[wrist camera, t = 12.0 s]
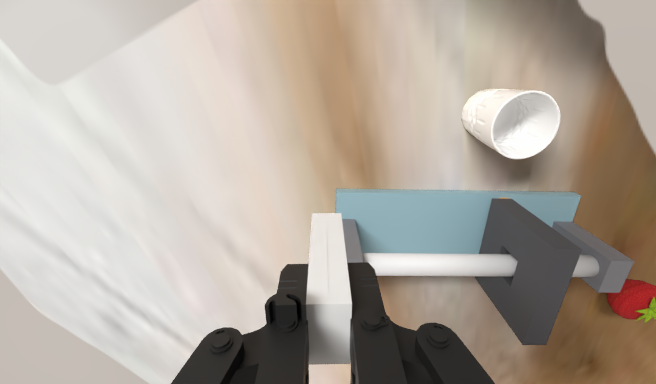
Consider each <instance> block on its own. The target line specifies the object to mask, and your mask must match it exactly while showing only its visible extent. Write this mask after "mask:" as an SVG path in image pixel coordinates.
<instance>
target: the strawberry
mask: <svg viewBox="0 0 656 384" xmlns="http://www.w3.org/2000/svg"><path fill="white" fill-rule="evenodd" d="M607 299H608V303H609V305H610V306H611V308H612V309H613V311H614V312H615V313H616V314H618V315H620V316H621V317H623V318H626V319H636V320H640V319H643V318H645V322H644V323H646V322H647V321H648V320H649V319H651V318H652V317H653V318H654V319H655V320H656V286H654V285H652V284H649V283H646V282H644V281H640V280H630V279H626V280H625V282H624V284H623V287H622V289H621V291H620V293H607Z"/></svg>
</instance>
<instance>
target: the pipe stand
mask: <svg viewBox="0 0 656 384" xmlns="http://www.w3.org/2000/svg"><path fill="white" fill-rule="evenodd" d="M492 198H502V199H513V200H514V201H516V202H517V203H518V204H520V205H521V206H523V207H524V208H525V209H527V210H528V211H529V212H531V213H532V214H534V215H535V216H536V217H538V218H539V219H541V220H542V221H543V222H545V223H546V224H547V225H549V226H550V227H552V228H553V229H554V230H556V231H557V232H558V233H560V234H561V235H563V236H564V237H565V238H567V239H568V240H570V241H571V242H572V243H574V244H575V245H576V246H578V247H579V248H581V249H582V251H581V254H580V257H579V259H578V262H577V265H576V267H575V270H574V272H573V275H572V277H580V278H581V279H582V280H584V281H585V282H586V283H587V284H588V285H590V286H591V287H592V288H593V289H594V290H596V291H597V292H598V293H620V291H621V289H622V287H623V284H624V282H625V280H626V278H627V276H628V274H629V271H630V269H631V267H632V265H633V263H634V261H633V260H631V259H630V258H628V257H627V256H625V255H623V254H622V253H620V252H619V251H617V250H616V249H614V248H613V247H611V246H609V245H608V244H606V243H605V242H603V241H602V240H600V239H598V238H597V237H595V236H594V235H592V234H591V233H589V232H588V231H586V230H584V229H583V228H581V227H580V226H578V225H577V224H575V223H574V222H572V221H573V218H574V215H575V212H576V209H577V206H578V204H579V201H580V198H581V195H579V194H577V193H575V192H530V191H461V190H391V189H336V208H335V213H341V215H342V224H343V232H344V241H345V249H346V257H347V263H356V262H368V263H369V264H370V265H371V266H372V267H373V268H374V269H375V273H376V276H501V277H513V276H514V273H515V270H516V266H517V263H518V261H517V260H516V259H515V258H514V257H513V256H512V255H511V254H479V251H480V247H481V243H482V238H483V234H484V230H485V226H486V221H487V217H488V213H489V209H490V205H491V200H492Z"/></svg>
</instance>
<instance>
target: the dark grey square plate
mask: <svg viewBox="0 0 656 384" xmlns="http://www.w3.org/2000/svg"><path fill="white" fill-rule="evenodd" d="M581 251H582V249H581V248H579V247H578V246H576V245H575V244H574V243H572V242H571V241H570V240H568V239H567V238H565V237H564V236H563V235H561V234H560V233H558V232H557V231H556V230H554V229H553V228H552V227H550V226H549V225H547V224H546V223H545V222H543V221H542V220H541V219H539V218H538V217H536V216H535V215H534V214H532V213H531V212H529V211H528V210H527V209H525V208H524V207H523V206H521V205H520V204H518V203H517V202H516V201H514V200H513V199H502V198H492V200H491V205H490V209H489V213H488V217H487V221H486V226H485V230H484V234H483V238H482V243H481V247H480V251H479V254H511V255H512V256H513V257H514V258H515V259H516V260H517V261H518V263H517V266H516V270H515V273H514V276H513V277H501V276H474V277H475V278H476V280H477V281H478V283H479V284H480V285H481V287H482V288H483V290H484V291H485V292H486V294H487V295H488V297H489V298H490V299H491V301H492V302H493V304H494V305H495V307H496V308H497V309H498V311H499V312H500V314H501V315H502V316H503V318H504V319H505V321H506V322H507V323H508V325H509V326H510V328H511V329H512V330H513V332H514V333H515V335H516V336H517V337H518V339H519V340H520V342H521V343H522V345H546V344H547V341H548V339H549V336H550V333H551V331H552V328H553V325H554V323H555V320H556V317H557V315H558V312H559V309H560V307H561V304H562V302H563V299H564V296H565V294H566V291H567V288H568V286H569V283H570V280H571V278H572V275H573V272H574V270H575V267H576V265H577V262H578V259H579V257H580V254H581Z"/></svg>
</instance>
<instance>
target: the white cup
mask: <svg viewBox="0 0 656 384" xmlns="http://www.w3.org/2000/svg"><path fill="white" fill-rule="evenodd" d="M462 121H463V125H464V128H465V129H466V130H467V131H468V132H469V133H470V134H471V135H473V136H474V137H476V138H477V139H478V140H480V141H481V142H483V143H484V144H485V145H487V146H489V147H490V148H492V149H493V150H495V151H497V152H498V153H500V154H501V155H503V156H505V157H507V158H511V159H525V158H529V157H532V156H534V155H536V154H538V153H539V152H541V151H542V150H544V149H545V148H546V147H547V146H548V145H549V144H550V143H551V141H552V140H553V139H554V137H555V135H556V133H557V131H558V128H559V125H560V110H559V106H558V104H557V102H556V101H555V100H554V99H553V98H552V97H551V96H550V95H548V94H547V93H544V92H541V91H533V90H518V89H486V90H482V91H479V92H477V93H476V94H475V95H473V96H472V97H470V98H469V100H468V101H467V103H466V105H465V106H464V108H463V114H462Z"/></svg>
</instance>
